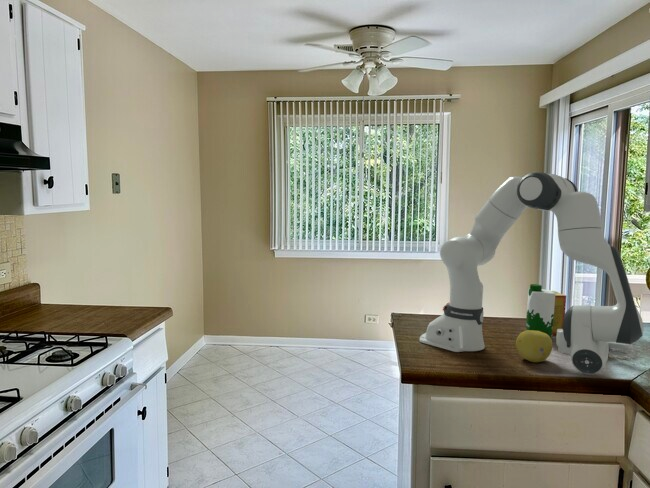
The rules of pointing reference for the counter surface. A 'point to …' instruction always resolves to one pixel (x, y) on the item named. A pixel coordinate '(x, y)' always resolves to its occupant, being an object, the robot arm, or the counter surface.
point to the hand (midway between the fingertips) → (594, 335)
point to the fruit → (534, 345)
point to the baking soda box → (558, 312)
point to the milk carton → (540, 309)
